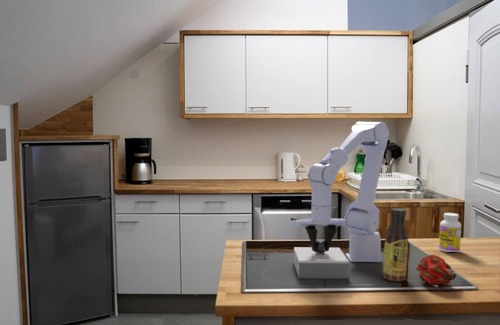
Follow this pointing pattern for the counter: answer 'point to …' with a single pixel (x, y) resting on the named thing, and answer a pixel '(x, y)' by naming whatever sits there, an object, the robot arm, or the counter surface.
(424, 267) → the dragon fruit
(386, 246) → the sauce bottle
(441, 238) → the supplement bottle
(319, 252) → the plunger
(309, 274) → the slotted white block
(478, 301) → the counter surface
